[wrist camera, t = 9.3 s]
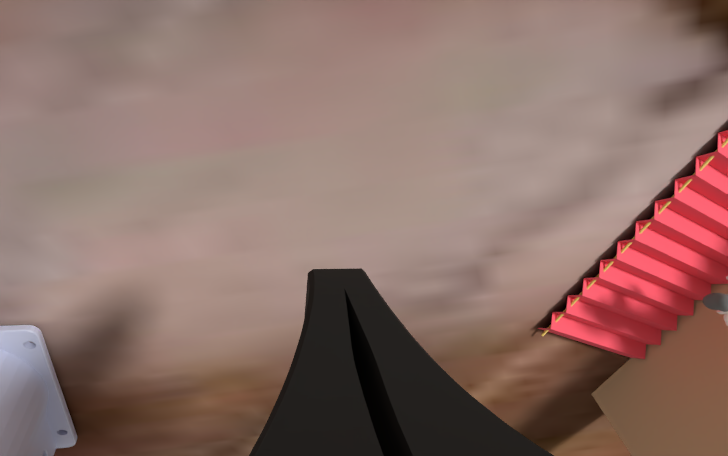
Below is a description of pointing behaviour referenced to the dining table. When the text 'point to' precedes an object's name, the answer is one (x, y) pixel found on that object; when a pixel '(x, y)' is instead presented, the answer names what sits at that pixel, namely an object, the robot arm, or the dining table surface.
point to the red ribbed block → (665, 320)
